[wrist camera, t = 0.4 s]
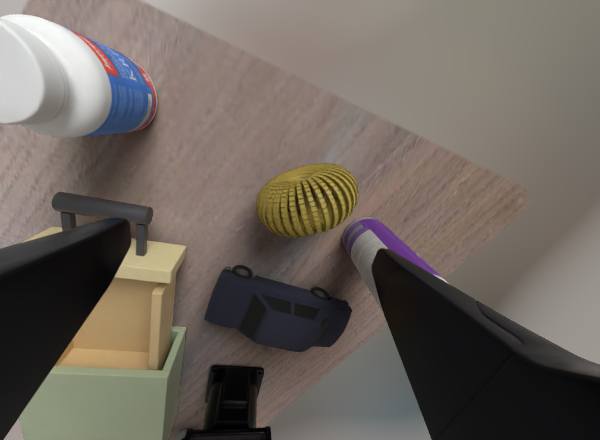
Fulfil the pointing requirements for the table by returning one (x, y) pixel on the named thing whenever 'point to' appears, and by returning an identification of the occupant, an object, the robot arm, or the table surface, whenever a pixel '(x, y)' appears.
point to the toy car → (276, 311)
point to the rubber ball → (180, 435)
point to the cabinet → (107, 401)
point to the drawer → (125, 293)
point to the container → (376, 248)
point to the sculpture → (307, 200)
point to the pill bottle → (69, 82)
